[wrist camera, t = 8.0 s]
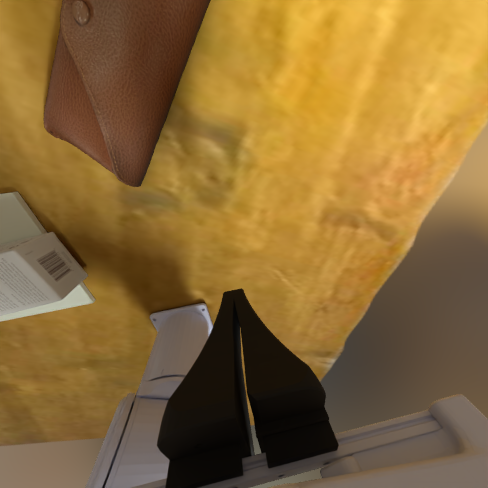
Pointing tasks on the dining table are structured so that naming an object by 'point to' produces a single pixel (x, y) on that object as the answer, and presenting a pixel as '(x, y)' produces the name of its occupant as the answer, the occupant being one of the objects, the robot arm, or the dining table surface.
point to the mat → (24, 226)
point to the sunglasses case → (119, 77)
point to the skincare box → (36, 273)
